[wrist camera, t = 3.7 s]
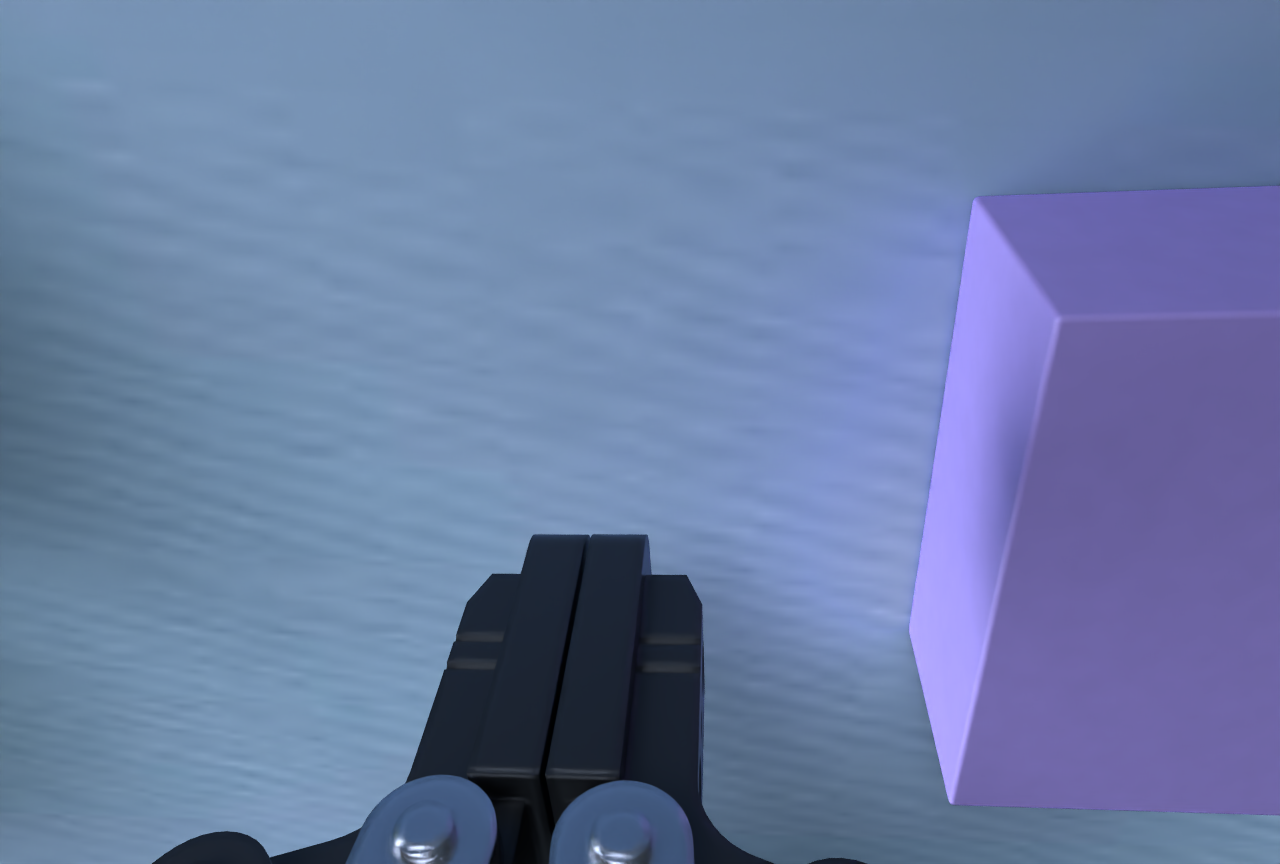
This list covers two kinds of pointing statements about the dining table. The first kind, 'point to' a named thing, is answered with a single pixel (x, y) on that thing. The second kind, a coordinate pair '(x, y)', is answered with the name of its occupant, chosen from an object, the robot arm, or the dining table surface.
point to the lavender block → (1109, 507)
